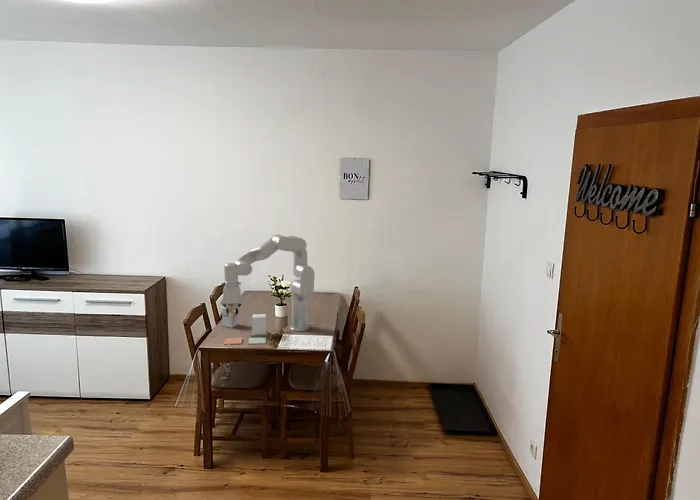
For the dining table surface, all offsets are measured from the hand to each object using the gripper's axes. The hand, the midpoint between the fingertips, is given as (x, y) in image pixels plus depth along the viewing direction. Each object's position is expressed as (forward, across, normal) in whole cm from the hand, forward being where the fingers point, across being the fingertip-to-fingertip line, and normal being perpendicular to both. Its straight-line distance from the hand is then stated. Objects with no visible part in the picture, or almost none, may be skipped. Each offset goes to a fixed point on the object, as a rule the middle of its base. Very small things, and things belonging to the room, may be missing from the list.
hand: (232, 314), depth 294 cm
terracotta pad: (+17, 0, 0) cm, 17 cm away
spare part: (+1, 0, 0) cm, 1 cm away
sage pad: (+17, -14, +1) cm, 22 cm away
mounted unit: (+17, -15, -10) cm, 25 cm away
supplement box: (+17, +4, -29) cm, 34 cm away
